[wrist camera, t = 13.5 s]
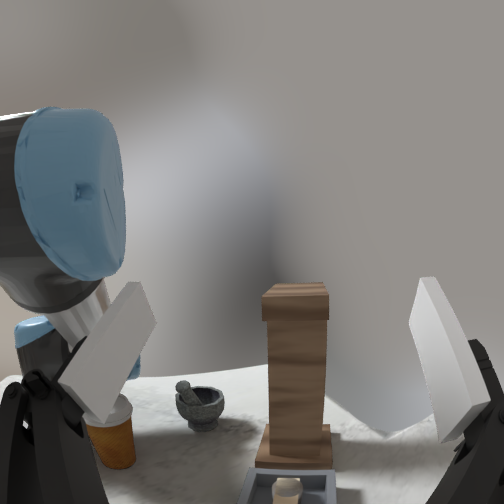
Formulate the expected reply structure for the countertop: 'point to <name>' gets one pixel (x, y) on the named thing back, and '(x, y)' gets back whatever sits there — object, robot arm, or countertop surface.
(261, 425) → the countertop surface
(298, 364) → the post stand
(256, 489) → the tray
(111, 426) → the disposable coffee cup
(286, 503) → the bar
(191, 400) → the mortar and pestle
